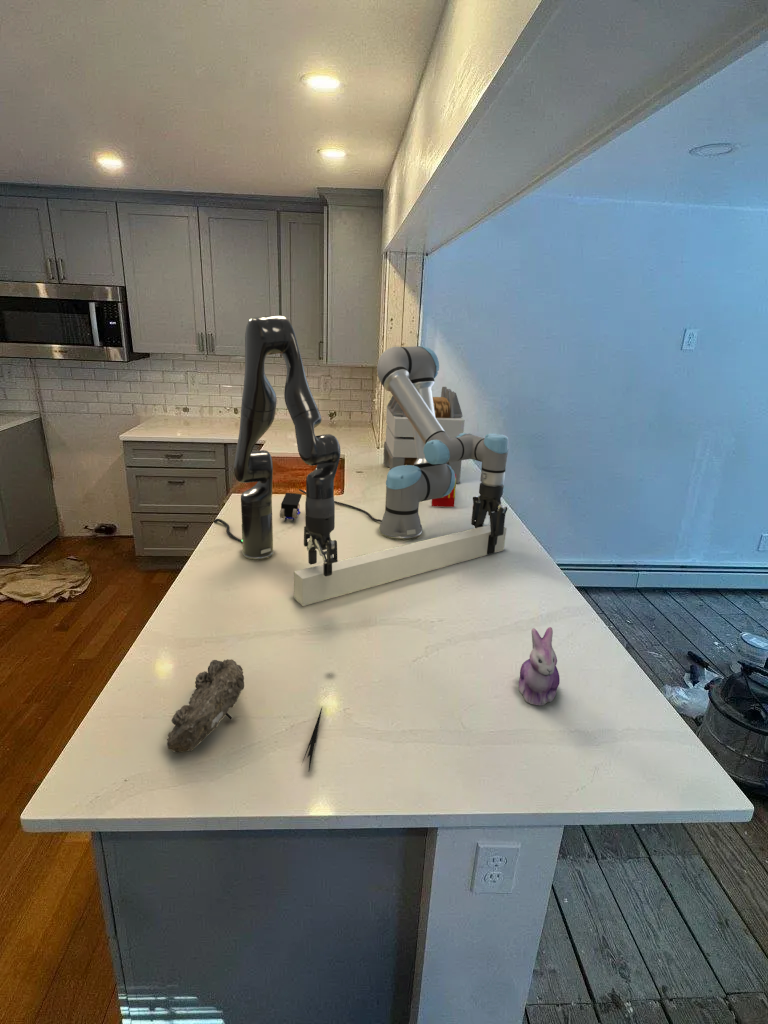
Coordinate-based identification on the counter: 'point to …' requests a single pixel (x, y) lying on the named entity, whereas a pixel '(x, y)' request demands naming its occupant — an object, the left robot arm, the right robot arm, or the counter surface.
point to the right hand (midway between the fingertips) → (484, 550)
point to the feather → (313, 740)
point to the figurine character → (290, 506)
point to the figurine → (540, 671)
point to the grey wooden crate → (402, 438)
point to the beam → (392, 564)
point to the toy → (445, 499)
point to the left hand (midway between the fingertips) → (320, 569)
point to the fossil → (206, 705)
